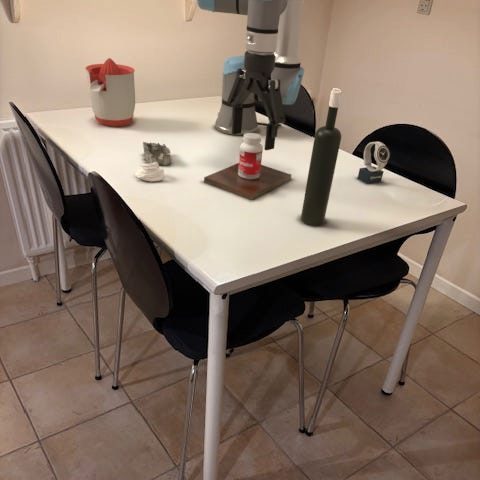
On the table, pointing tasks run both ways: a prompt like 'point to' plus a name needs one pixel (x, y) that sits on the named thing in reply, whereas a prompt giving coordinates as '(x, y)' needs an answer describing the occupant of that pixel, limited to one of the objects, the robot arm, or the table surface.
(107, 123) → the citrus juicer
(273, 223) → the table surface
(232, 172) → the walnut board
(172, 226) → the table surface
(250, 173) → the pill bottle
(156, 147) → the egg carton
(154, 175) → the cream folded ring
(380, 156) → the watch
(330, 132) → the wine bottle
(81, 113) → the table surface
